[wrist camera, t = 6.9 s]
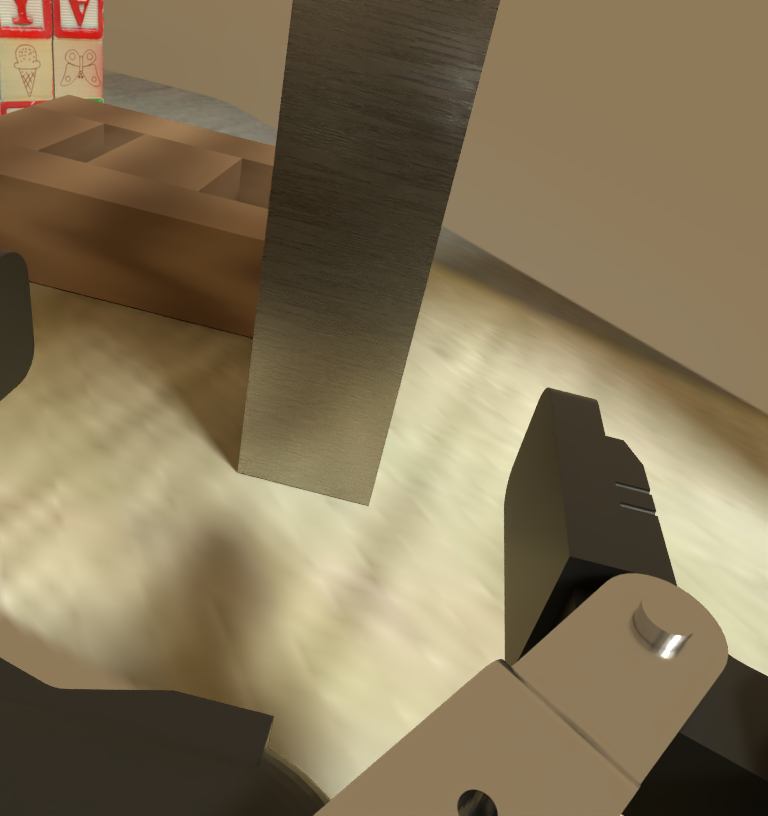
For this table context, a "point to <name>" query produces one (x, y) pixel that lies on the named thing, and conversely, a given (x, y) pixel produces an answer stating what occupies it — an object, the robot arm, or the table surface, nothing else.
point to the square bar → (354, 228)
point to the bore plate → (136, 209)
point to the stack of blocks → (50, 51)
